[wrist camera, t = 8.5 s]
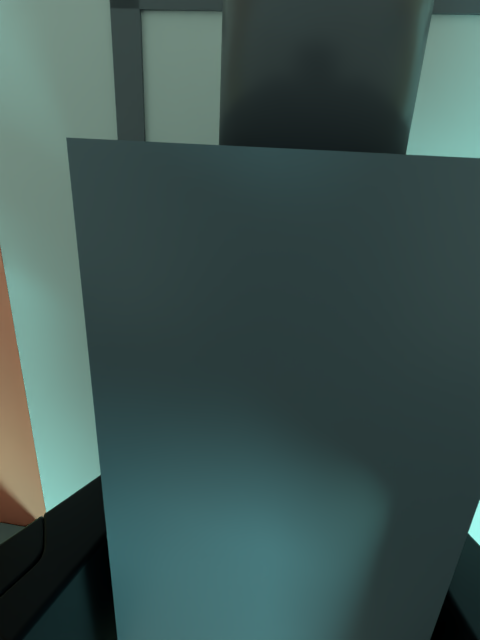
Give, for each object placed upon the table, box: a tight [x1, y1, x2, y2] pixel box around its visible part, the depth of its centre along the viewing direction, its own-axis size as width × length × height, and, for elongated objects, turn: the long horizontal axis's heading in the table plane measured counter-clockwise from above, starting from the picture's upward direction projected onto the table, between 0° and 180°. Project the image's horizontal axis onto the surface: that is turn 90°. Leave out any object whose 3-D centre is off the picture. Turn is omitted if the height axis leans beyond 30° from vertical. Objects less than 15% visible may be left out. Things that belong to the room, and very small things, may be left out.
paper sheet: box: [0, 0, 480, 545], centre depth 11 cm, size 20×15×1 cm
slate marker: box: [66, 0, 480, 640], centre depth 7 cm, size 14×4×5 cm, turn 177°
